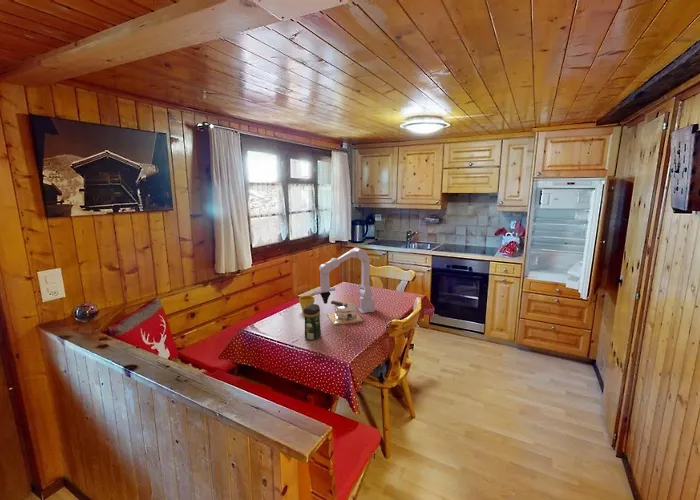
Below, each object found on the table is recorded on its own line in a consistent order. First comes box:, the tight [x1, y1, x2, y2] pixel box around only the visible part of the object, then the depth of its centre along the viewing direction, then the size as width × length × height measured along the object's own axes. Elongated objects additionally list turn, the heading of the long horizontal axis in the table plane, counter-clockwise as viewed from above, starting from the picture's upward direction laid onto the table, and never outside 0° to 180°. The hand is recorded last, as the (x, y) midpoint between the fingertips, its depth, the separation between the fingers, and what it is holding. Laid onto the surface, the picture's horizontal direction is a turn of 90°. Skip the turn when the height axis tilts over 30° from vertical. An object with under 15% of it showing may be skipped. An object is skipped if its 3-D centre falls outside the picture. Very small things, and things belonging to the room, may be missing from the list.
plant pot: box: [298, 294, 315, 314], centre depth 224 cm, size 10×10×10 cm
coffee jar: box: [303, 303, 322, 341], centre depth 183 cm, size 10×8×19 cm
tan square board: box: [326, 308, 363, 326], centre depth 213 cm, size 19×22×6 cm
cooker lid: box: [330, 300, 358, 312], centre depth 213 cm, size 18×15×3 cm
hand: (325, 303), depth 212 cm, fingers closed
